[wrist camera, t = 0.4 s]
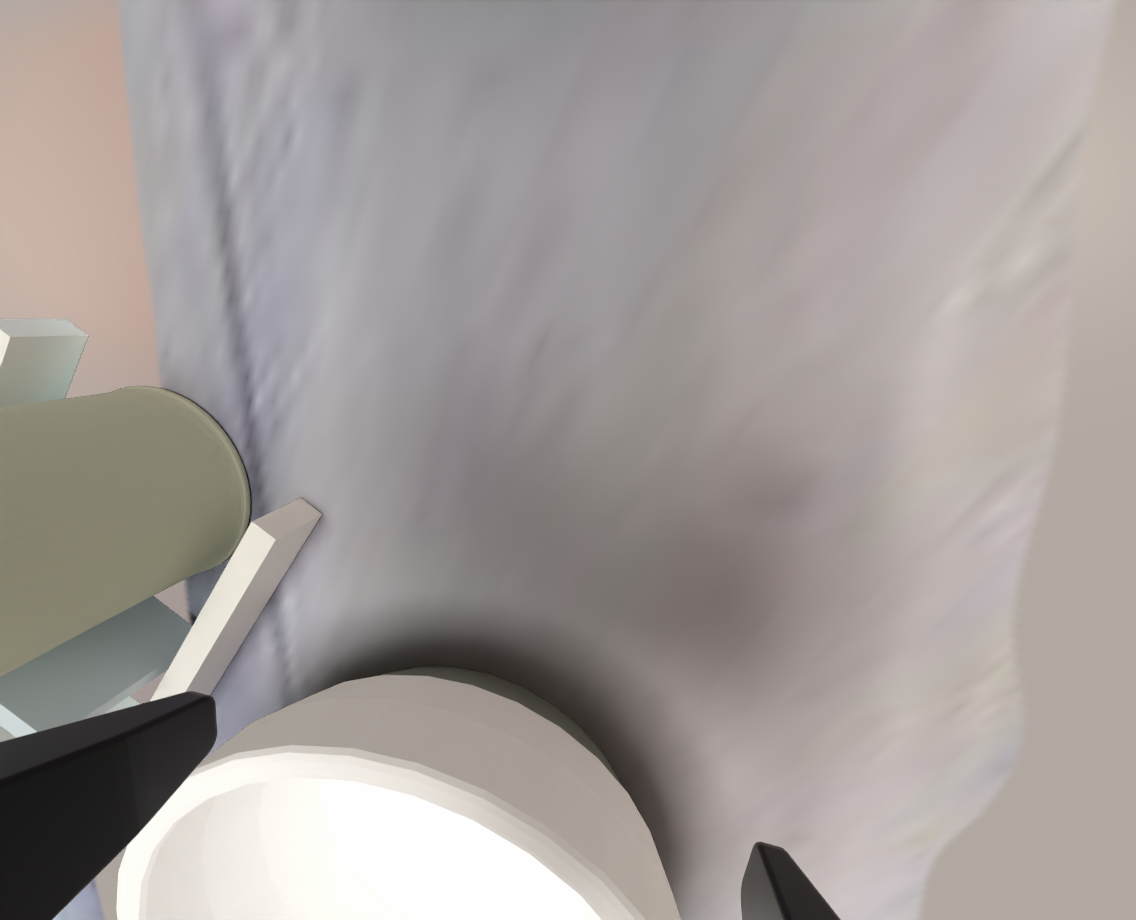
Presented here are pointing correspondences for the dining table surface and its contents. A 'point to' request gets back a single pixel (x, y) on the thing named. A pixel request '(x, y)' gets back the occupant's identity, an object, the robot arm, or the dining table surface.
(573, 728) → the bowl
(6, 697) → the bar
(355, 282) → the dining table surface
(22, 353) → the white angular bar frame
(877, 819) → the dining table surface
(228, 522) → the can
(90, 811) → the robot arm
